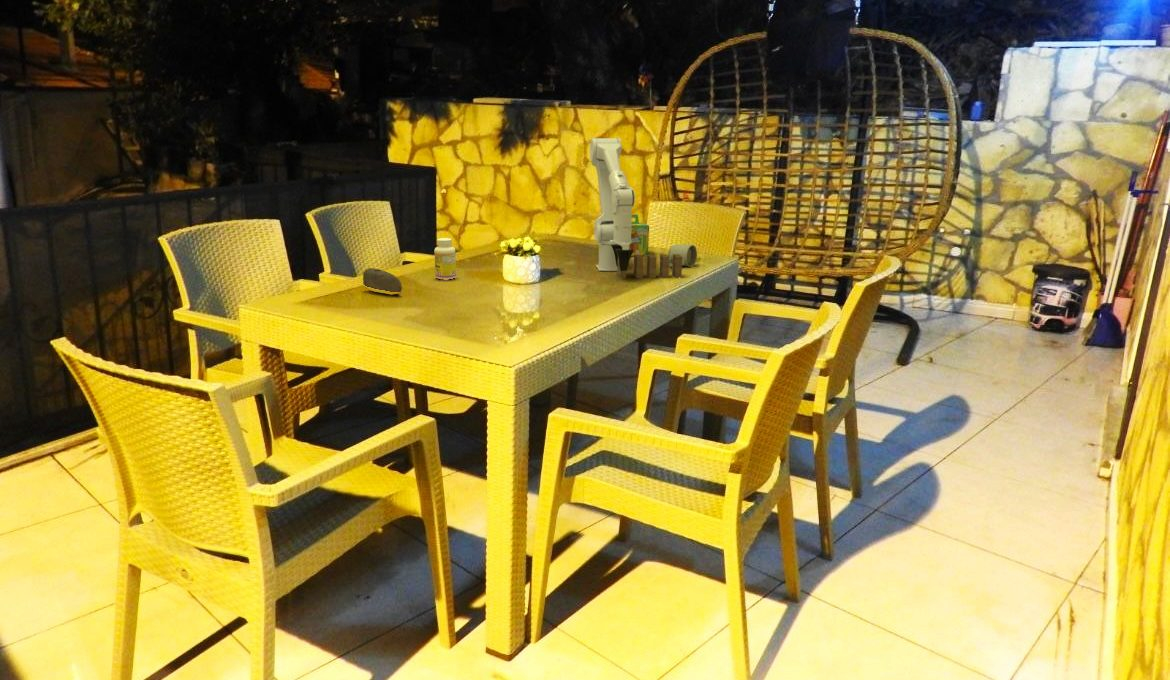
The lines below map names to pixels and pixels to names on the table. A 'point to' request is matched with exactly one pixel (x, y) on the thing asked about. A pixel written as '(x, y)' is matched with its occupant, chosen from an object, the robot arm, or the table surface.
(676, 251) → the grey hollow cylinder
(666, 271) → the tile
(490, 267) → the table surface
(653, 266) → the tile
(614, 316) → the table surface
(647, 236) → the chalk box
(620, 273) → the tile
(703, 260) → the table surface
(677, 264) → the tile
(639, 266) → the tile
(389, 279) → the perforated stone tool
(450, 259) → the supplement bottle
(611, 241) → the robot arm
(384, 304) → the table surface
